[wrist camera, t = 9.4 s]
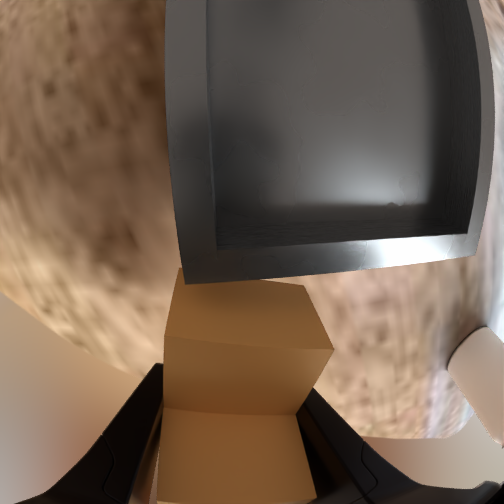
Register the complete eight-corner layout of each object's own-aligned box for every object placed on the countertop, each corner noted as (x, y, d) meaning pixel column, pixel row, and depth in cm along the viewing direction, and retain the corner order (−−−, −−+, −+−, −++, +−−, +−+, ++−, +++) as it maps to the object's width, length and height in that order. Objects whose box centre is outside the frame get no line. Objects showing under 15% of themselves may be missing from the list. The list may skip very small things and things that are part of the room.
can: (467, 327, 19) (536, 414, 8) (496, 322, 20) (556, 392, 10) (435, 376, 22) (487, 461, 11) (468, 366, 23) (516, 436, 12)
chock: (260, 394, 11) (281, 516, 6) (170, 387, 11) (162, 515, 5) (303, 285, 9) (379, 453, 4) (178, 267, 8) (145, 464, 3)
